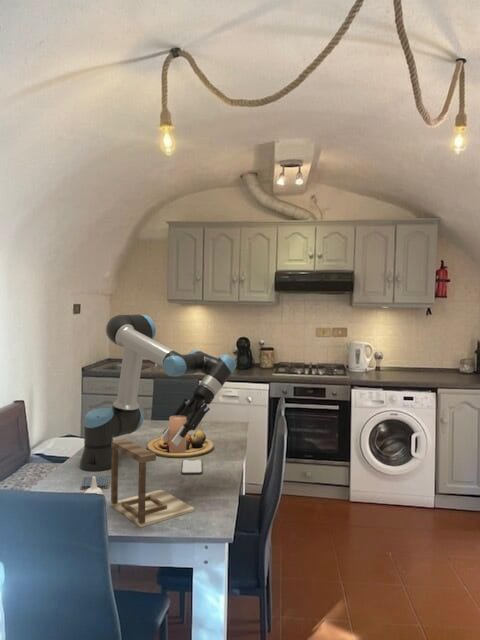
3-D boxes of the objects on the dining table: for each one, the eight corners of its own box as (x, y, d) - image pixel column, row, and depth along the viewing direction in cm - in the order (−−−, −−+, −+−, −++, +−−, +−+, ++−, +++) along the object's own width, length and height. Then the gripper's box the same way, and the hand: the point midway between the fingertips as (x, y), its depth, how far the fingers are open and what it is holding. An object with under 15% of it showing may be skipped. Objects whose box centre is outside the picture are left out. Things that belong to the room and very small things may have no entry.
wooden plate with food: (142, 441, 248) (142, 425, 247) (204, 437, 258) (204, 421, 257) (151, 463, 218) (152, 444, 217) (221, 456, 228) (221, 438, 227)
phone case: (202, 476, 201) (202, 463, 217) (202, 472, 201) (202, 459, 217) (180, 476, 200) (182, 463, 216) (180, 472, 200) (182, 459, 216)
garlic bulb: (82, 503, 172) (81, 481, 171) (86, 494, 178) (86, 473, 177) (100, 503, 172) (100, 481, 171) (104, 494, 178) (104, 473, 177)
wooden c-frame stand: (110, 505, 169) (111, 441, 168) (161, 492, 182) (162, 432, 181) (140, 527, 153) (141, 456, 152) (194, 511, 166) (195, 445, 165)
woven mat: (110, 480, 194) (110, 475, 194) (108, 490, 184) (109, 485, 184) (82, 481, 192) (83, 476, 192) (79, 491, 182) (79, 486, 182)
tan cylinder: (165, 450, 176) (166, 416, 176) (180, 447, 180) (180, 414, 180) (175, 454, 171) (175, 419, 171) (189, 451, 175) (189, 417, 175)
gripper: (228, 400, 178) (190, 454, 168) (197, 393, 192) (161, 442, 182) (217, 387, 174) (177, 441, 164) (186, 380, 189) (148, 430, 179)
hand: (169, 441), depth 173 cm, fingers closed on tan cylinder, 6 cm apart
